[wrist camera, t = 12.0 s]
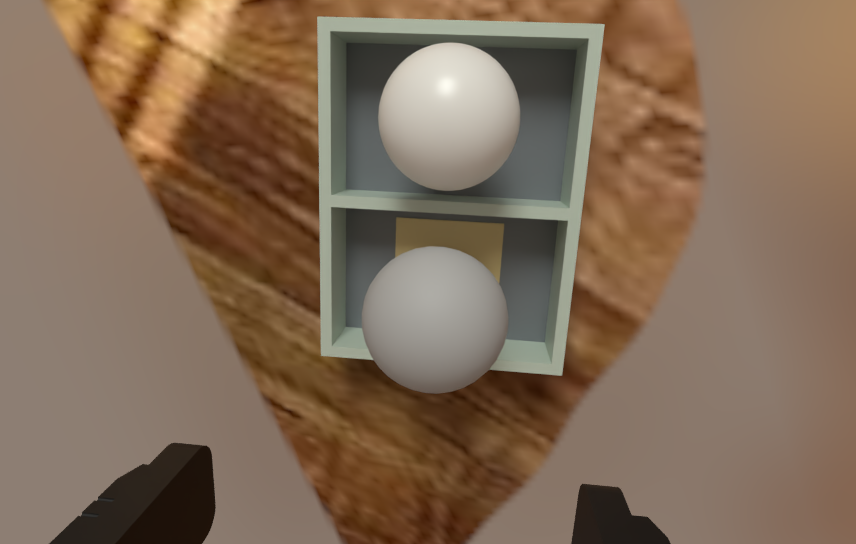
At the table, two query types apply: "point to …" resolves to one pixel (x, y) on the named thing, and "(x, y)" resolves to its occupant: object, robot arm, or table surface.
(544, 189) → the tray
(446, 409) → the table surface
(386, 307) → the lightbulb
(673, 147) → the table surface
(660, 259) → the table surface
